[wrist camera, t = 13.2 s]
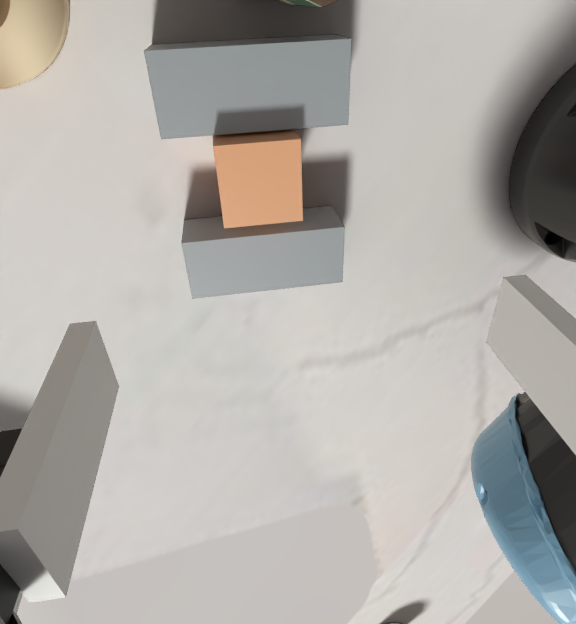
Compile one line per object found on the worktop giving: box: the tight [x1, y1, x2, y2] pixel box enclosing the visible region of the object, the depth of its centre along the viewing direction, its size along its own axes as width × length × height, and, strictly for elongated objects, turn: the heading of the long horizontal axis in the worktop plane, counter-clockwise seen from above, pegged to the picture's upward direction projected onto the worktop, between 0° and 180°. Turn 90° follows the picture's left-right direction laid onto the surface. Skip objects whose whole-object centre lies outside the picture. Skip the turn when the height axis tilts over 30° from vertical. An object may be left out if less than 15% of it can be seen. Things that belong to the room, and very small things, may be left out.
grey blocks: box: [144, 34, 351, 299], centre depth 27 cm, size 10×14×4 cm
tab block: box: [213, 129, 303, 228], centre depth 26 cm, size 4×4×5 cm
